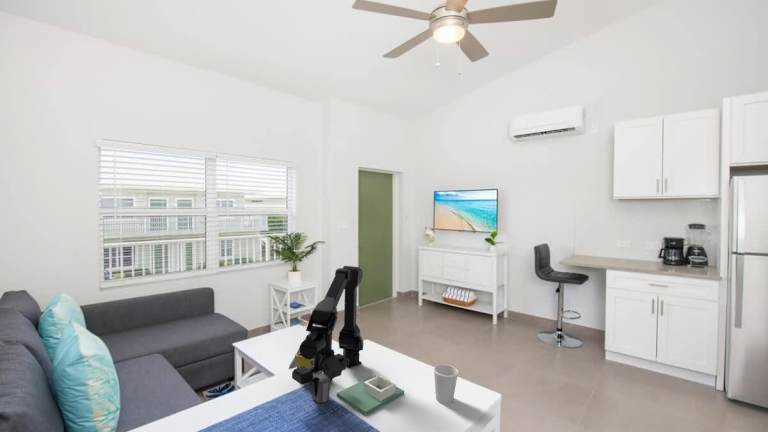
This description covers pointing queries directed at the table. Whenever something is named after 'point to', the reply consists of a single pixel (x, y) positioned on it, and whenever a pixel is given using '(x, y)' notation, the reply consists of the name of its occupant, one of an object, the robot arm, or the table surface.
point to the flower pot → (304, 362)
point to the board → (370, 394)
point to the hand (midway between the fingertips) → (320, 393)
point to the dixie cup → (445, 383)
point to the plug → (322, 389)
